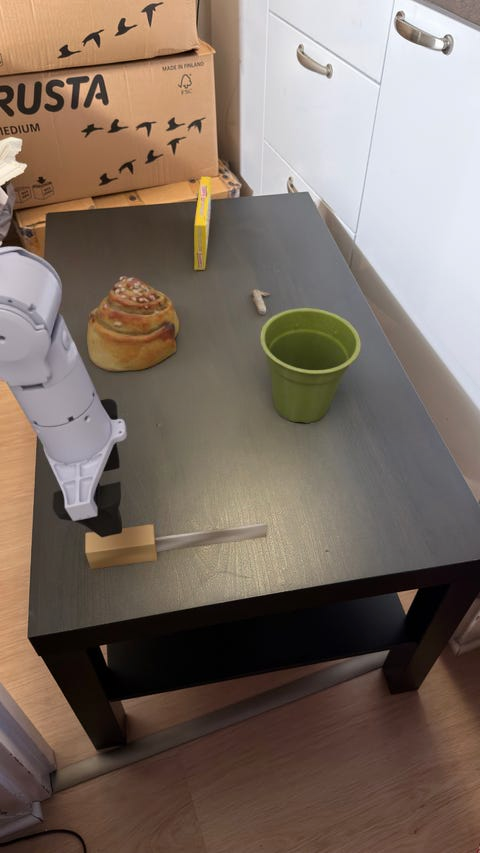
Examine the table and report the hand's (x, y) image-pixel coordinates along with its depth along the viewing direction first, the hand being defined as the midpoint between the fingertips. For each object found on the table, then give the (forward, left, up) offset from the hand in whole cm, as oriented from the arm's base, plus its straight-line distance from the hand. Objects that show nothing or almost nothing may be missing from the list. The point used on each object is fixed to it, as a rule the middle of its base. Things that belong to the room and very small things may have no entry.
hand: (110, 498), depth 59 cm
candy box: (+16, +59, -10) cm, 62 cm away
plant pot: (+24, +19, -10) cm, 32 cm away
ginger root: (+23, +41, -10) cm, 48 cm away
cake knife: (+6, 0, -10) cm, 12 cm away
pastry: (+3, +36, -10) cm, 37 cm away
